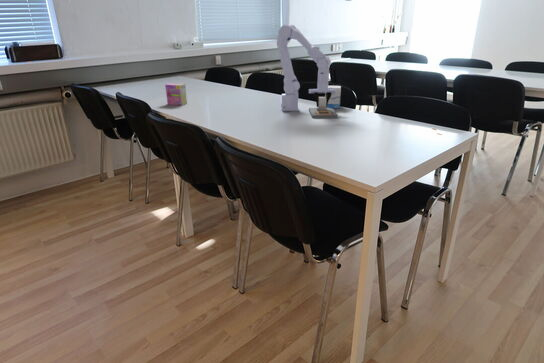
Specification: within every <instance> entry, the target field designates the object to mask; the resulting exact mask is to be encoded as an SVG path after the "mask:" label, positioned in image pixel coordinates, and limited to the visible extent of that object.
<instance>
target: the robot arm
mask: <svg viewBox="0 0 544 363" xmlns="http://www.w3.org/2000/svg"><path fill="white" fill-rule="evenodd" d="M277 33H278V35H277V39H276V46H277V50H278V55H279V58H280V63H281V68H282V71H283V76H284V78H283V91H284V92H285V93H281V103H280V108H281V111H282V112H283V111H285V112H287V111H288V112H293V111H294V112H298V111H299V112H300V109H299V108H300V107H299V90H300V88H301V85H300V82H299V81H298V79H297V77H296V75H295V72H294V69H293V65H292V64H293V63H292V60H291V57H290V56H291V55H290V51H289V47H288V44H289V43H290V41H291V40H296V41H297V42H298V43H299V44H301V46H303V48H304V49H305V50H306V51H307V55H308V56H309V58H311V59H312V60H313V61H314V62H315V63H316V66H317V68H318V71H317V84H316V86H317V88H309V89H308V94H313V96H314V99H315V103H316V108H318V105H319V104H318V100H319V97H320V94H325V93H326V107H327V104H328V101H329V99H330V97H331V95H332V94H331V93H336V89H328V86H329V79H330V78H329V77H330V66H331V59H330V57H329V56H326V53H323V52H322V51H321V50H320V46H316V45H312V44H311V42H310V41H309V40H308V39H307V38H306V37H305V35H304V34H303V33H302V32H301V31H300V30H299V28H297V27H296V26H295V25H294V24H283V25H281V26H280V28H279V29H278V31H277Z"/></svg>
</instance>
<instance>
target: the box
mask: <svg viewBox="0 0 544 363" xmlns="http://www.w3.org/2000/svg"><path fill="white" fill-rule="evenodd" d="M164 85H165V86H164V87H165V93H166V95H165V96H166V101H167V105H173V106H184V105H187V104H188V98H187V88H186V83H171V82H170V83H166V84H164Z"/></svg>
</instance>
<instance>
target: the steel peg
mask: <svg viewBox="0 0 544 363" xmlns="http://www.w3.org/2000/svg"><path fill="white" fill-rule="evenodd" d="M318 104H319V105H318V107H317V108H318V110H317V111H326V97H325V96H319V100H318Z"/></svg>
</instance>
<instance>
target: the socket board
mask: <svg viewBox="0 0 544 363" xmlns="http://www.w3.org/2000/svg"><path fill="white" fill-rule="evenodd" d="M317 110H318V107H309V108H308V112H309V114H310V116H311V119H338V117H339V116H338V113H337V112H336V111H335V108H326V111H317Z"/></svg>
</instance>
